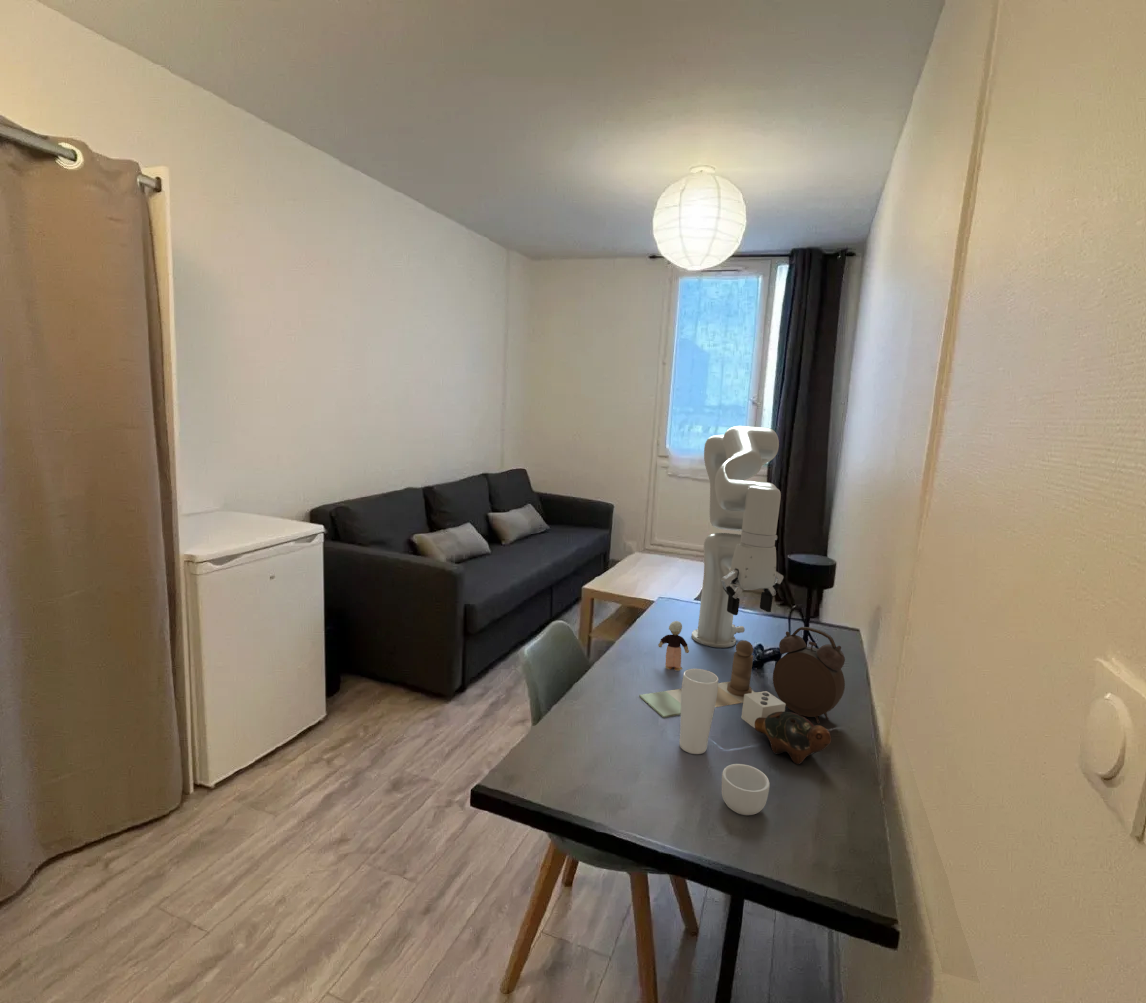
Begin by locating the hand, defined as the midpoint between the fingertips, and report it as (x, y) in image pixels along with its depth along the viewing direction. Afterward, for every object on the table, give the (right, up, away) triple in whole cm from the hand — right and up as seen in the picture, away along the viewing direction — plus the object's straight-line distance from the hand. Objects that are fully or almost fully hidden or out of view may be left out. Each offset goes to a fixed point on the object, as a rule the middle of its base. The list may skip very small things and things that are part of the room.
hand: (748, 611), depth 144 cm
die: (-1, -22, -11) cm, 25 cm away
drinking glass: (-17, -23, -23) cm, 37 cm away
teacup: (-12, -26, -39) cm, 48 cm away
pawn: (-1, -19, +3) cm, 20 cm away
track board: (-11, -20, -1) cm, 23 cm away
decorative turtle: (+2, -24, -21) cm, 32 cm away
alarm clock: (+11, -22, -5) cm, 25 cm away
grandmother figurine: (-16, -17, +14) cm, 27 cm away
